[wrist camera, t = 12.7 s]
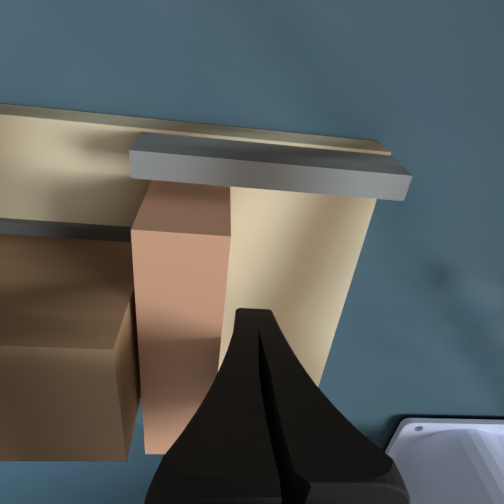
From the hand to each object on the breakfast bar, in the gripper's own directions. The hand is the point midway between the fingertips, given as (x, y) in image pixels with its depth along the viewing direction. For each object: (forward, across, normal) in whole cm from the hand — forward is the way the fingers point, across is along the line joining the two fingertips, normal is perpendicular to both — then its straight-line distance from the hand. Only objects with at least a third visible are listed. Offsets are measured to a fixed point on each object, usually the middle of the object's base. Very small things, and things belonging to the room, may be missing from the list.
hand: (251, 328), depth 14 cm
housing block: (+1, +6, 0) cm, 7 cm away
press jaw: (+1, +2, 0) cm, 3 cm away
